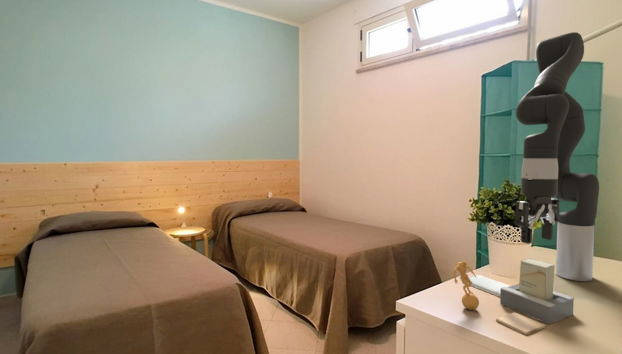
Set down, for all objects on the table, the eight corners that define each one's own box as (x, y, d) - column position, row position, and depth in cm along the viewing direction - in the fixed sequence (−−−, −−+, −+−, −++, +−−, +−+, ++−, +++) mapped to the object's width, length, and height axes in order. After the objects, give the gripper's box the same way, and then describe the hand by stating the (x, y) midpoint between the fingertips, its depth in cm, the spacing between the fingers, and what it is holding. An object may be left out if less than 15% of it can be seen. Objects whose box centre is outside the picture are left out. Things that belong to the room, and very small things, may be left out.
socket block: (523, 296, 93) (524, 281, 93) (573, 314, 82) (573, 297, 82) (500, 303, 88) (500, 287, 88) (549, 323, 78) (549, 306, 77)
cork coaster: (514, 314, 82) (514, 312, 82) (545, 327, 76) (545, 324, 76) (496, 321, 79) (496, 318, 79) (526, 335, 73) (526, 332, 73)
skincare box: (517, 306, 87) (518, 260, 86) (527, 302, 89) (528, 257, 88) (544, 316, 81) (545, 267, 81) (553, 312, 84) (555, 264, 83)
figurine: (467, 316, 82) (468, 268, 81) (446, 307, 87) (446, 261, 86) (487, 307, 86) (487, 262, 85) (465, 299, 91) (466, 256, 90)
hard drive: (461, 278, 104) (500, 292, 93) (479, 274, 107) (518, 287, 96) (461, 284, 104) (500, 298, 93) (479, 279, 107) (518, 293, 96)
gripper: (540, 175, 90) (538, 234, 91) (506, 176, 84) (504, 240, 84) (572, 176, 83) (569, 241, 84) (537, 178, 77) (535, 248, 78)
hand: (536, 240), depth 84 cm, fingers open, 8 cm apart
